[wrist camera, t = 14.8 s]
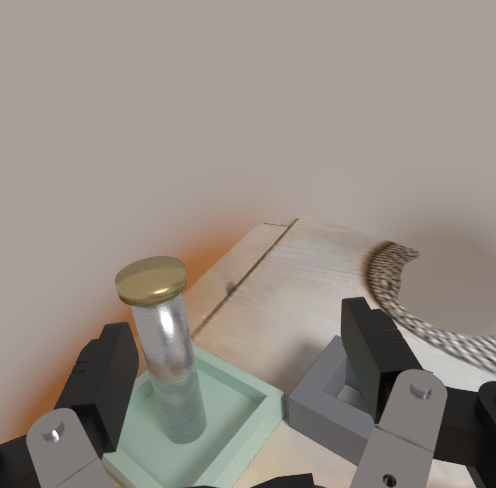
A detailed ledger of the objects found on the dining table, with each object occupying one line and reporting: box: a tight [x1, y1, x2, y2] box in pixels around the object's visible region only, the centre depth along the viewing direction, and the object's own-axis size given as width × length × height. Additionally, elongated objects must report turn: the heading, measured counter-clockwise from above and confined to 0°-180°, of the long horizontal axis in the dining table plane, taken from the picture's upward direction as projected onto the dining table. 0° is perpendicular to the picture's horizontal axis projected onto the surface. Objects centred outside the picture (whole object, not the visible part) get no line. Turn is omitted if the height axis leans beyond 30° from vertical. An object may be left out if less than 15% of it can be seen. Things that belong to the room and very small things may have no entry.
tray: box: [101, 344, 286, 488], centre depth 35 cm, size 14×14×3 cm
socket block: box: [288, 335, 433, 466], centre depth 35 cm, size 10×10×4 cm
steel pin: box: [115, 256, 207, 444], centre depth 32 cm, size 5×5×17 cm
